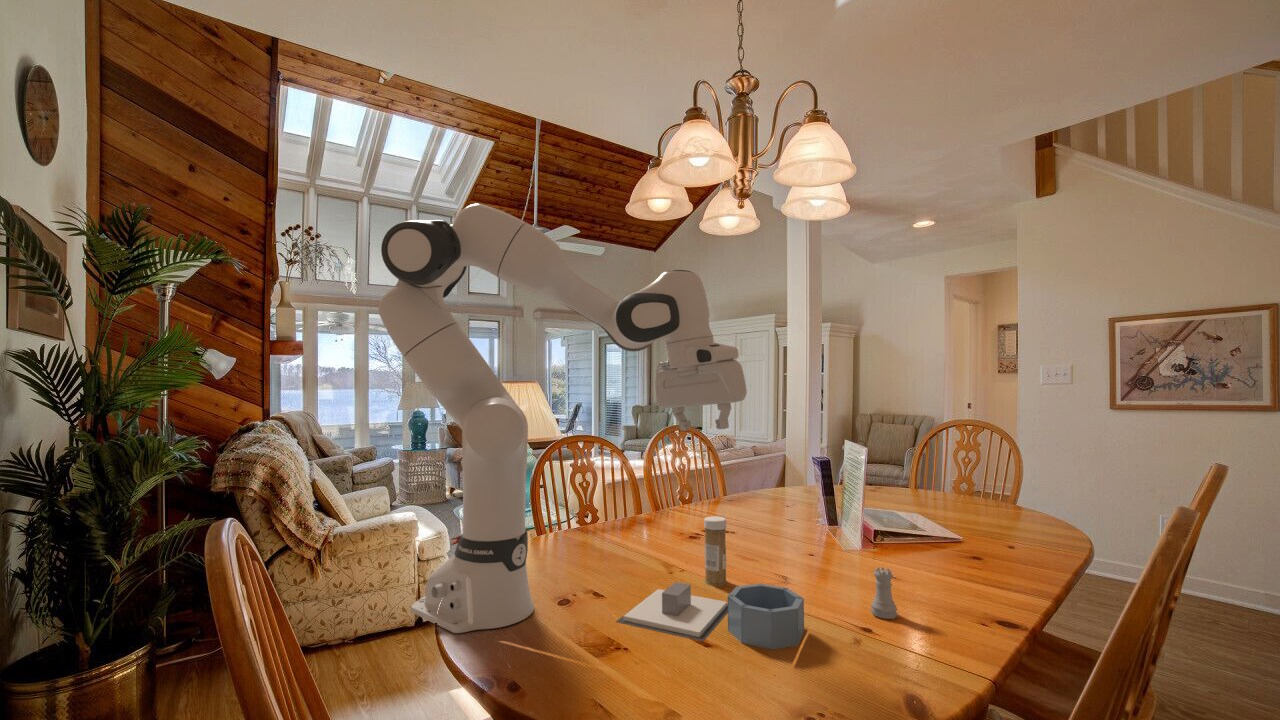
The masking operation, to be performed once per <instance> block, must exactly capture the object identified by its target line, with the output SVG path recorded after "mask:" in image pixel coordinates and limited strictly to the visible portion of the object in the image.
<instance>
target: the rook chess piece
mask: <svg viewBox="0 0 1280 720" xmlns="http://www.w3.org/2000/svg"><path fill="white" fill-rule="evenodd" d="M873 576H874V577H875V579H876V580H875V583H874V584H875V587H876V589H875V596H874V598H873V601H872V602H871V604H870V606H871V609H870V612H871V614H872V615H873V616H874V615H875V616H877V617H876V618H878V617H879V618H878V619H881V618H883V619H882V620H886V619H892V620H895V619H896V618H897V617H898V612H897V611H898V608H897V605H896V604H895V601H894V599H893V595H892V586H893V583H892V582H891V581H892V580H893V578H894V575H893V574H892V570H891V569H889V568H887V567H886V568H885V567H876V568H875V571H874V572H873ZM875 616H874V617H875Z"/></svg>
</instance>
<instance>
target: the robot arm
mask: <svg viewBox="0 0 1280 720" xmlns="http://www.w3.org/2000/svg"><path fill="white" fill-rule="evenodd" d="M560 247H561V246H559V244H557V243H556V242H555V241H554V240H553V239H552V238H551V237H549V236H548V235H547V234H545V233H544V232H543V231H541V230H540V229H538V228H536V227H535V226H533V225H531V224H530V223H527V222H526V221H524V220H522V219H520V218H518V217H516V216H514V215H512V214H510V213H508V212H505V211H503V210H501V209H498V208H495V207H492V206H489V205H486V204H482V203H473V204H469V205H467V206H465V207H464V208H463V209H462V210H461V211H460V212H459V213H458V214H457V215H456V217H455V219H454V220H453V221H452V223H451V224H449V223H448V222H447V221H446V220H443V219H435V220H434V219H433V220H432V219H431V220H430V219H429V220H427V219H425V220H424V219H413V220H406V221H402V222H399V223H397V224H395V225H394V226H392V227H391V228H389V230H387V232H386V233H385V235H384V237H383V239H382V242H381V249H380V250H381V257H382V261H383V262H384V263H383V264H384V265H385V267H386V268H387V270H388V271H389V272H390V273H391V274H392V275H393V276H394V277H395V278H396V279H397V283H396V284H395V286H394V287H392V288H391V289H389V290H388V291H387V292H385V294H384V295H383V296H382V297H381V299H380V301H379V303H378V314H379V317H380V319H381V321H382V324H383V325H384V327H385V330H386V331H387V333H388V334H389V337H390V338H391V340H392V342H393V344H394V345H395V346H396V348H397V350H398V351H399V353H400V354H401V355H402V357H403V358H404V359H405V361H406V362H407V363H408V365H409V366H410V367H411V369H412V370H413V371H414V372H415V374H416V376H417V377H418V379H420V381H421V382H422V383H423V385H424V386H425V387H426V389H427V390H428V391H429V393H430V394H431V395H432V397H434V398H435V399H436V401H437V402H438V403H439V404H440V405H441V406H442V408H443V409H444V410H445V411H446V413H448V414H449V416H450V417H451V418H452V419H453V421H454V422H455V423H456V424H457V426H458V427H459V428H460V429H461V430H462V431H461V436H462V439H461V442H462V443H461V444H462V445H461V446H462V447H461V449H462V450H461V451H462V453H461V456H462V458H461V459H462V461H461V462H462V489H463V490H462V533H461V534H460V535H458V536H456V537H453V538H450V540H451V541H453V542H451V543H450V545H451V546H453V545H455V544H457V545H456V547H455V550H454V555H452V556H451V557H449V559H447V560H446V561H445V562H444V563H442V564H441V565H440V566H439V567H437V568H436V569H435V570H433V572H431V574H430V575H429V576H428V578H427V581H426V585H425V595H424V596H422V597H421V598H419V599H418V600H416V601H415V602H414V603H413V604H412V605H411V607H410V612H411V613H412V614H414V615H417V616H418V617H420V618H422V619H424V620H426V621H428V622H430V623H432V624H434V625H436V624H435V623H436V614H437V610H438V607H439V604H440V602H441V604H440V607H439V610H438V614H437V625H436V626H438V624H439V627H441V628H443V629H444V630H447V631H449V632H450V633H453V634H463V633H467V632H471V631H476V630H477V631H478V630H489V629H498V628H503V627H507V626H511V625H514V624H516V623H520V622H521V621H524V620H525V619H527V618H528V617H530V616H531V615H532V613H533V612H534V610H535V606H534V604H533V600H532V596H531V590H530V584H529V579H528V570H527V567H528V566H527V558H528V557H527V556H528V551H529V549H528V547H529V546H528V544H529V543H528V542H529V540H528V539H529V538H528V537H529V536H528V531H527V530H526V493H527V492H526V491H527V488H526V487H527V465H528V442H529V441H528V440H529V439H528V438H529V434H528V433H529V425H528V420H527V416H526V415H525V413H524V411H523V410H522V409H521V407H520V406H519V405H518V404H517V403H516V402H515V400H514V399H513V397H512V396H511V394H510V393H509V392H508V391H507V388H505V386H504V385H503V384H502V382H501V380H500V379H499V377H497V375H496V374H495V372H494V371H493V370H492V369H493V368H491V367H490V365H489V363H487V361H486V360H485V358H484V357H483V355H482V354H481V352H480V351H479V350H478V349H477V347H476V346H475V344H474V343H473V342H472V340H471V339H470V338H469V336H468V335H467V333H466V332H465V330H464V329H463V328H462V327H461V325H460V324H459V323H458V321H457V320H456V319H455V317H454V316H453V315H452V313H451V312H450V310H449V309H448V307H447V305H446V303H445V301H444V299H445V298H446V297H448V296H449V294H450V293H451V292H452V290H453V289H454V288H455V286H456V285H457V284H458V283H459V282H460V281H461V280H462V278H463V276H464V275H465V273H466V270H467V267H469V266H472V267H476V268H479V269H481V270H483V271H485V272H488V273H489V274H492V275H494V276H495V277H497V278H499V279H500V280H503V281H504V282H507V283H508V284H510V285H513V286H515V287H517V288H520V289H522V290H525V291H527V292H530V293H533V294H536V295H539V296H541V297H544V298H546V299H550V300H552V301H553V302H557V303H559V304H561V305H563V306H565V307H567V308H569V309H570V310H572V311H574V312H575V313H577V314H579V315H580V316H582V317H584V318H585V319H587V320H589V321H591V322H593V323H594V324H596V325H598V326H599V327H600V328H601V329H602V330H604V331H605V333H606V334H607V336H608V337H609V339H610V340H611V341H612V342H613V343H614V344H615V345H616V346H617V347H618V348H619V349H622V350H624V351H627V352H635V353H636V352H640V351H643V350H645V349H647V348H649V347H650V346H651V345H652V344H653V343H654V342H655V341H657V340H660V339H663V340H665V343H666V349H667V356H668V360H667V361H666V360H665V361H664V360H663V361H660V362H659V363H658V365H657V366H656V369H655V382H654V383H655V385H654V386H655V399H656V403H657V405H658V408H660V409H661V410H662V409H663V410H664V409H671V411H672V415H673V416H674V418H675V419H676V421H677V422H678V428H679V430H680V431H681V432H683V431H690V430H692V425H691V424H692V422H691V419H687V417H686V415H685V413H684V412H686V409H685V407H697V406H707V405H708V406H710V405H716V406H717V410H718V411H719V415H718V419H715V424H716V425H715V427H716V429H717V430H725V429H729V427H730V425H729V416H730V413H731V411H732V404H733V403H738V402H742V401H744V400H745V398H746V396H747V392H748V391H747V385H746V380H745V379H746V377H745V375H744V370H743V367H742V365H741V363H740V362H739V361H738V360H737V359H738V358H739V350H738V348H737V347H736V346H732V345H726V344H721V343H718V342H715V340H714V339H715V338H714V335H713V331H712V330H711V327H710V308H709V303H708V299H707V294H706V290H705V286H704V284H703V281H702V279H701V277H700V276H699V274H697V273H695V272H693V271H690V270H687V269H673V270H667V271H664V272H662V273H660V275H659V276H658V277H657V278H656V279H655V280H654V281H652V282H651V283H649V284H648V285H647V286H645V287H643V288H642V289H639V290H637V291H636V292H633V293H631V294H629V295H627V296H626V297H624V298H623V299H618V298H615V297H613V296H612V295H610V294H608V293H607V292H605V291H604V290H601V289H600V288H598V287H596V286H595V285H594V284H592V283H590V282H589V281H586V280H585V279H583V278H582V277H581V276H580V275H579V274H578V273H577V272H576V271H575V270H574V269H573V268H572V266H571V265H570V263H569V262H568V260H567V258H566V256H565V255H564V253H563V251H562V249H561V248H560ZM442 598H443V599H442ZM441 600H442V601H441Z"/></svg>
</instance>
